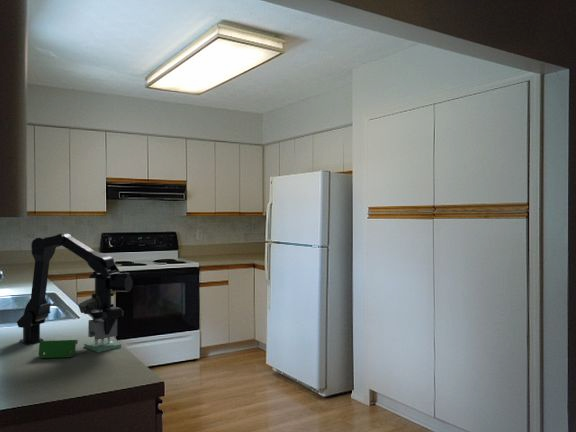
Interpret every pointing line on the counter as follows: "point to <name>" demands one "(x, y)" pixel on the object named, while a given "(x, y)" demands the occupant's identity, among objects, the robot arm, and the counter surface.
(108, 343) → the pin board
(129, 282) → the robot arm
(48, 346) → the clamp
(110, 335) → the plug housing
